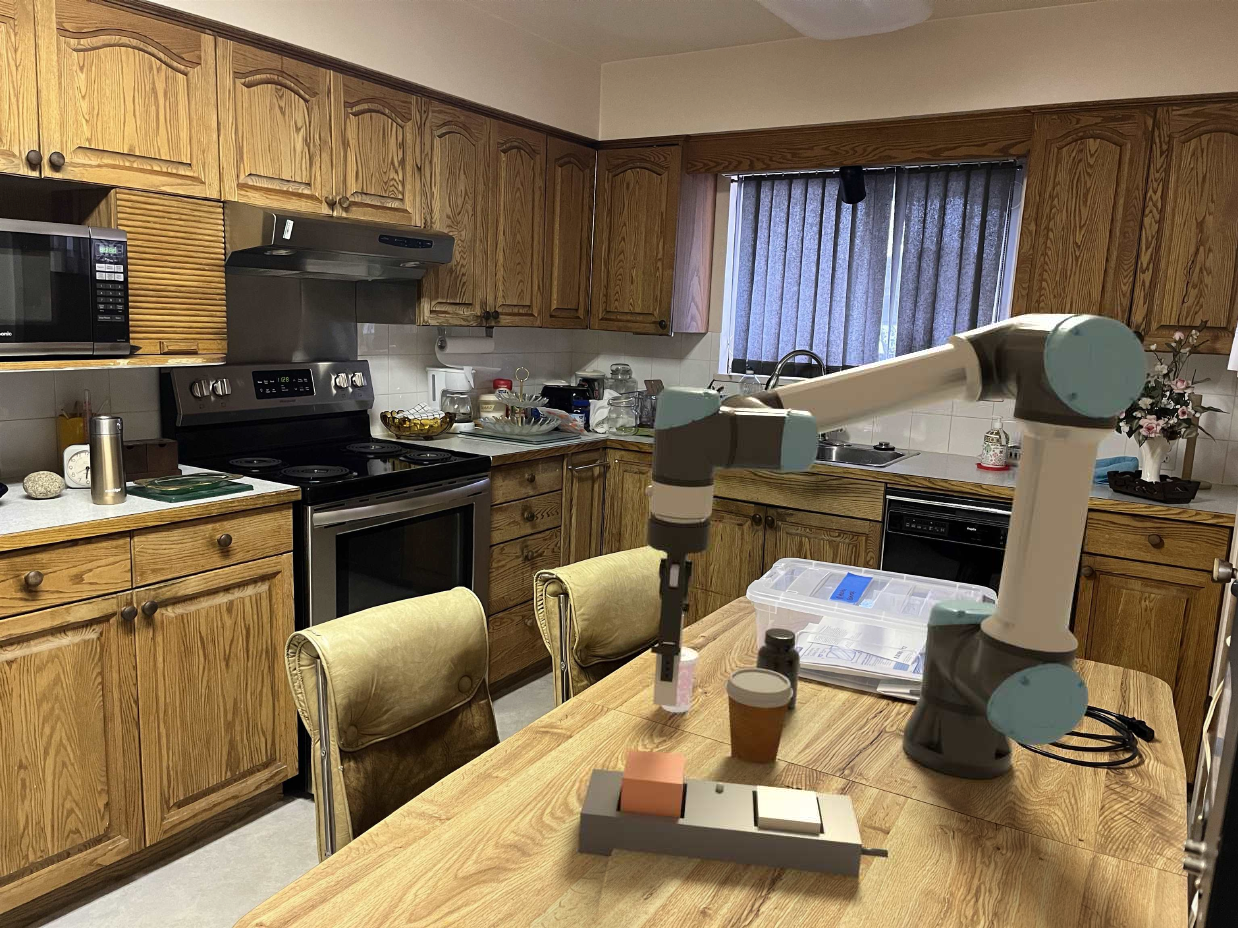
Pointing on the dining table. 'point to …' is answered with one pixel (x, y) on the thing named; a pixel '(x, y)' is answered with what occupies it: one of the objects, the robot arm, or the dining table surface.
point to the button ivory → (786, 809)
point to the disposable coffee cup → (757, 713)
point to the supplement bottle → (781, 657)
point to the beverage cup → (684, 680)
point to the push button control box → (721, 828)
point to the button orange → (653, 783)
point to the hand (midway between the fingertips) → (667, 681)
